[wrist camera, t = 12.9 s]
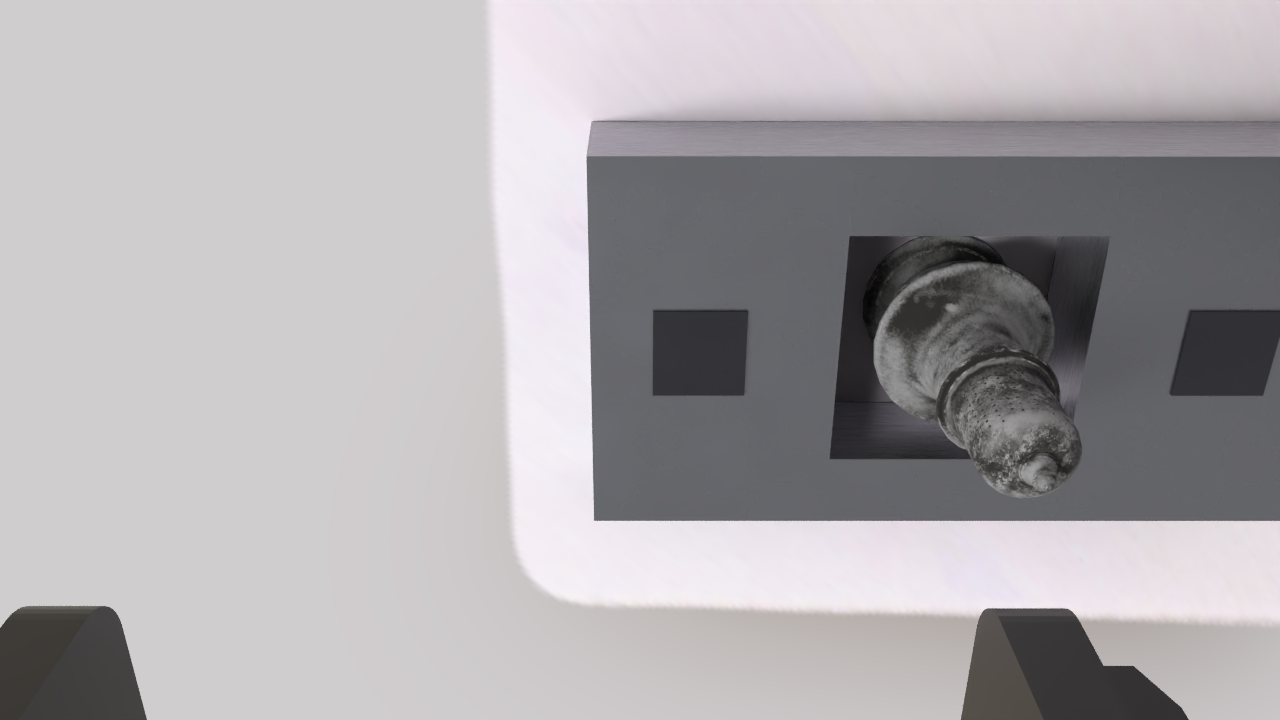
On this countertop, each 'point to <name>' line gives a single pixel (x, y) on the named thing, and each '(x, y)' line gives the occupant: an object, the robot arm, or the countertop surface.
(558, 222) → the countertop surface
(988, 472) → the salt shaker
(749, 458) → the gray slotted block
